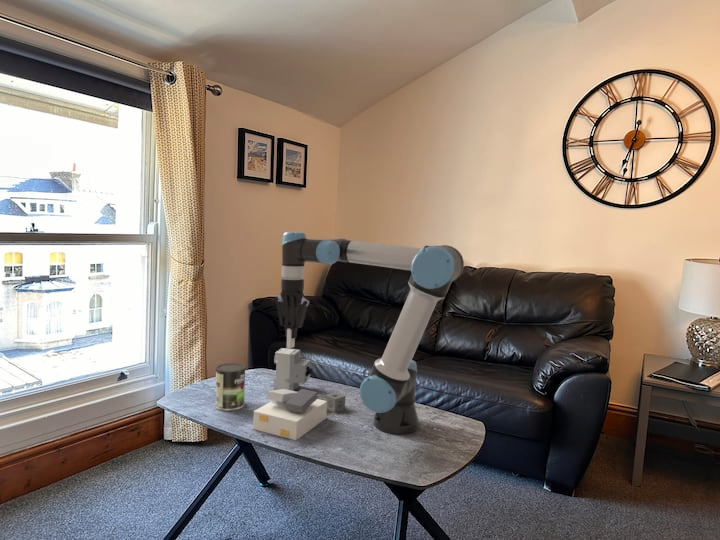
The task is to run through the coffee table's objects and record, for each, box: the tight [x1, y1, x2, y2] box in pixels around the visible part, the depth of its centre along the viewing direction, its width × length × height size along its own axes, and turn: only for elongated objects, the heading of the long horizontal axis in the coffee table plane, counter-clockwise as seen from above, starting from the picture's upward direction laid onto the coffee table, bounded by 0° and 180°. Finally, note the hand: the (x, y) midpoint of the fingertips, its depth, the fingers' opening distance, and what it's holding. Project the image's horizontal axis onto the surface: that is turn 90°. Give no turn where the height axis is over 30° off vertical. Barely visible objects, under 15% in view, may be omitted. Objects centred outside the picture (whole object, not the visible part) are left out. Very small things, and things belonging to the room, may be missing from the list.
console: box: [252, 398, 328, 441], centre depth 164 cm, size 16×20×7 cm
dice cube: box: [325, 391, 346, 413], centre depth 178 cm, size 5×5×5 cm
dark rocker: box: [285, 388, 318, 413], centre depth 161 cm, size 6×10×2 cm, turn 156°
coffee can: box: [214, 362, 246, 412], centre depth 176 cm, size 10×10×14 cm
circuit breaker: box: [272, 347, 314, 391], centre depth 197 cm, size 8×14×15 cm, turn 78°
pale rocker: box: [266, 389, 298, 402], centre depth 166 cm, size 6×10×2 cm, turn 156°
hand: (290, 347), depth 167 cm, fingers closed
